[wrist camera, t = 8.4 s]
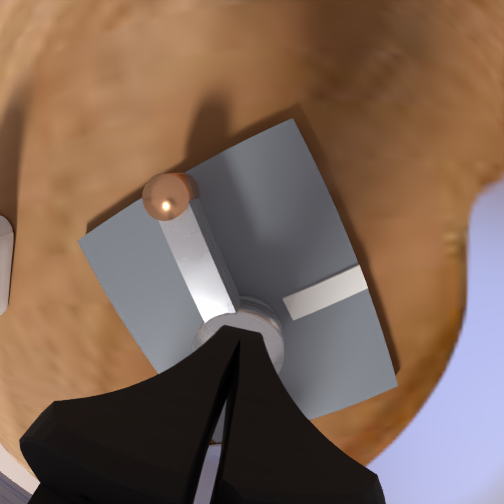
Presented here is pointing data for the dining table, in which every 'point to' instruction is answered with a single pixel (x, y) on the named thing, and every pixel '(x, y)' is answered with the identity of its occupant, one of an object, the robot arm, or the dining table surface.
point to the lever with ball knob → (206, 264)
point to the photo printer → (5, 261)
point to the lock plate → (256, 272)
